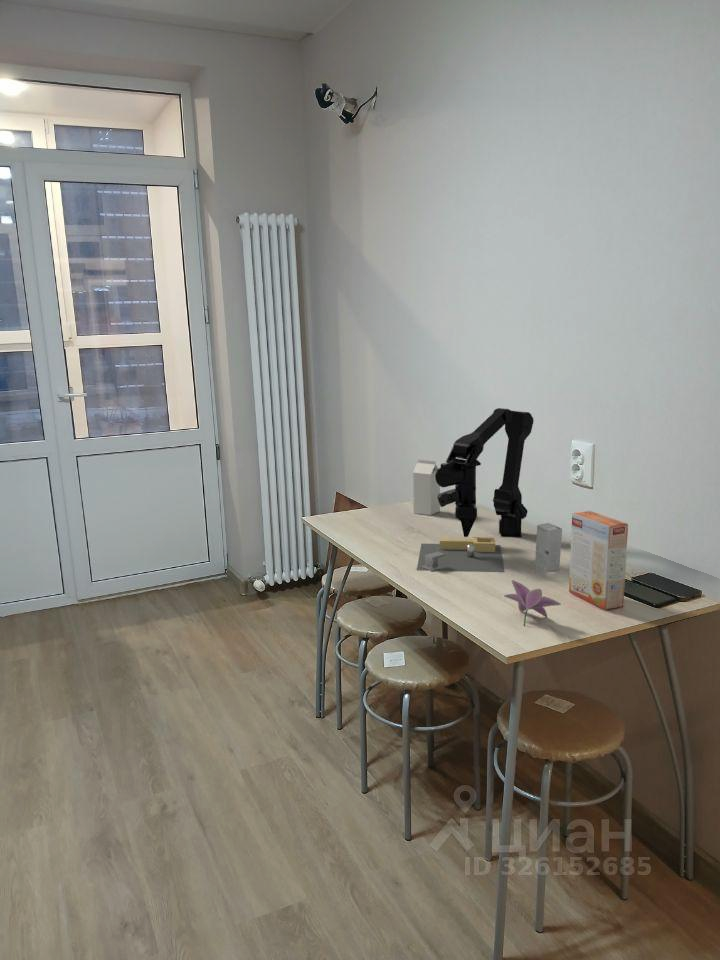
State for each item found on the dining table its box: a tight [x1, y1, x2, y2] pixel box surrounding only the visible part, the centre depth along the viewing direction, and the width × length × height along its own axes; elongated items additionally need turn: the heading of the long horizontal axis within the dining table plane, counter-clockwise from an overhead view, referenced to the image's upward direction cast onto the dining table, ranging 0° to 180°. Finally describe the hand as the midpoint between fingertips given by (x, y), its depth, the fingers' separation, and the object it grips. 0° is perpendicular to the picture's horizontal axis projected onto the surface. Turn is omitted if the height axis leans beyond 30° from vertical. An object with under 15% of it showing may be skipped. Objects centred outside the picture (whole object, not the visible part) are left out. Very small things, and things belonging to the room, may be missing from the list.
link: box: [439, 536, 496, 552], centre depth 226 cm, size 16×6×3 cm, turn 83°
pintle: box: [467, 544, 474, 558], centre depth 218 cm, size 2×2×3 cm
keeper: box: [421, 552, 445, 572], centre depth 210 cm, size 6×4×4 cm
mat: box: [416, 543, 505, 573], centre depth 219 cm, size 24×25×1 cm
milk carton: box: [412, 459, 441, 516], centre depth 268 cm, size 7×7×19 cm
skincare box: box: [534, 522, 563, 572], centre depth 207 cm, size 6×4×12 cm
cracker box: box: [568, 510, 629, 611], centre depth 183 cm, size 14×6×21 cm, turn 21°
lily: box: [503, 580, 561, 627], centre depth 173 cm, size 12×12×10 cm
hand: (465, 532), depth 226 cm, fingers open, 9 cm apart
